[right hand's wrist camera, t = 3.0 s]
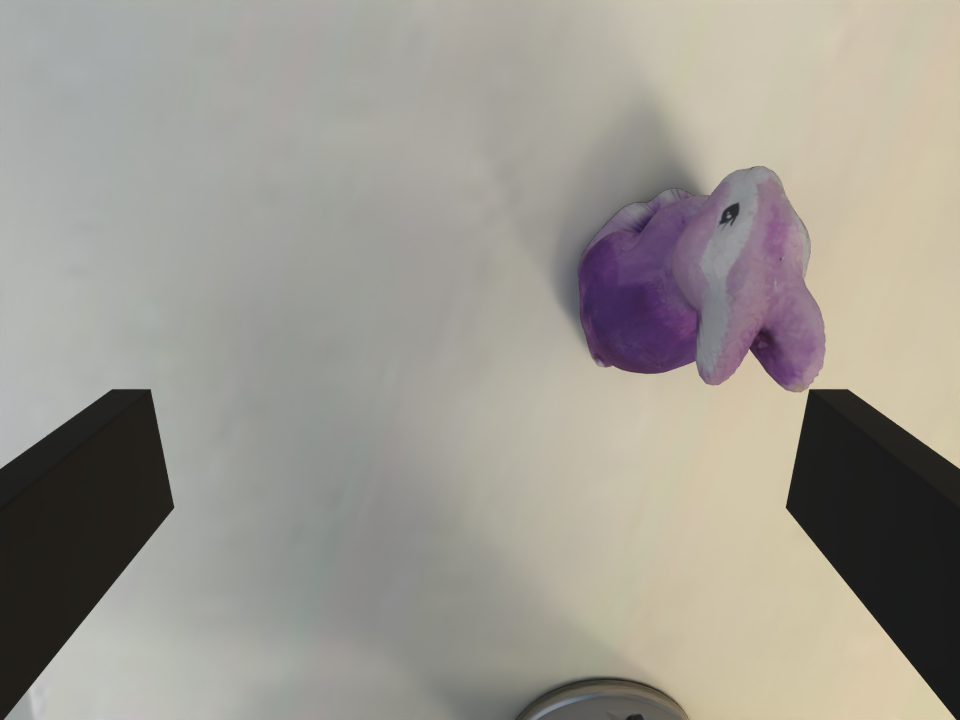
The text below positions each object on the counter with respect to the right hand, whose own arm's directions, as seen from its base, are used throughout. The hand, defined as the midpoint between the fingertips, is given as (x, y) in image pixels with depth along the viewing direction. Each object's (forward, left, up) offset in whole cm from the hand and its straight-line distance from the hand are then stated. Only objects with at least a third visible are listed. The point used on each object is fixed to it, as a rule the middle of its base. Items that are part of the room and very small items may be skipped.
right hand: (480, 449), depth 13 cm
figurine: (-6, -8, -25) cm, 27 cm away
